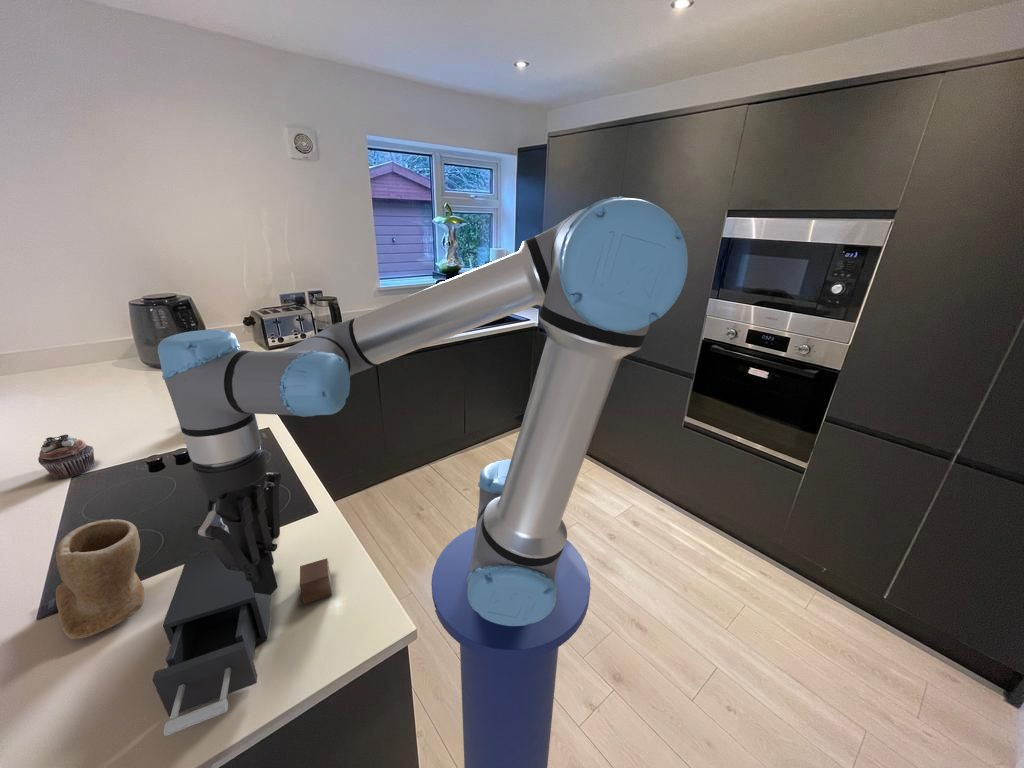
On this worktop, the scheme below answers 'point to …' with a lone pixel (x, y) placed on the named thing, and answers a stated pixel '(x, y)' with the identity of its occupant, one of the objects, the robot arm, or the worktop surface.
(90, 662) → the worktop surface
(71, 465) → the cupcake
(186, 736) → the worktop surface
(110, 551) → the stone cup
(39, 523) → the worktop surface
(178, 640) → the drawer
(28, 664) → the worktop surface
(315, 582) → the block
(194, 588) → the cabinet
